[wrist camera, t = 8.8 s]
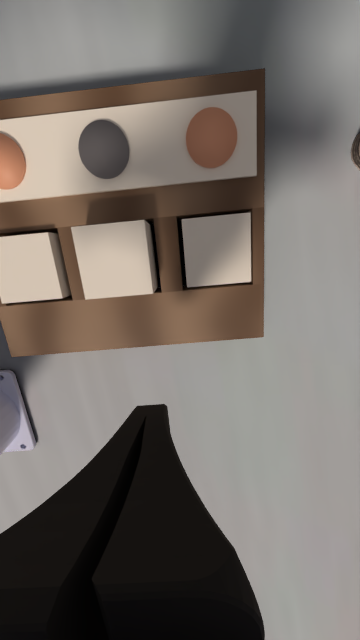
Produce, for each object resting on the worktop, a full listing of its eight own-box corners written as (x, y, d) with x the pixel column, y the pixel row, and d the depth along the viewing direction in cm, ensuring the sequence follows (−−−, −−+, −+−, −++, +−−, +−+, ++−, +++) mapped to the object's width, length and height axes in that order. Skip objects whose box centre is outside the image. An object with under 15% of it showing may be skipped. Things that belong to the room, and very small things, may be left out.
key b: (101, 291, 17) (85, 299, 14) (91, 231, 16) (70, 226, 13) (158, 286, 17) (153, 293, 14) (151, 225, 16) (144, 219, 13)
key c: (186, 281, 18) (187, 287, 15) (181, 224, 17) (181, 219, 14) (240, 276, 18) (251, 281, 15) (238, 218, 17) (250, 212, 14)
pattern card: (-27, 205, 15) (-33, 204, 14) (-50, 128, 14) (-57, 124, 13) (255, 176, 14) (257, 174, 14) (255, 92, 13) (257, 87, 13)
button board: (32, 344, 20) (11, 357, 17) (-27, 129, 16) (-65, 107, 13) (253, 326, 19) (263, 337, 17) (251, 97, 15) (265, 68, 13)
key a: (30, 295, 18) (2, 303, 16) (15, 240, 17) (-18, 238, 15) (81, 290, 18) (62, 298, 15) (70, 235, 17) (47, 232, 14)
